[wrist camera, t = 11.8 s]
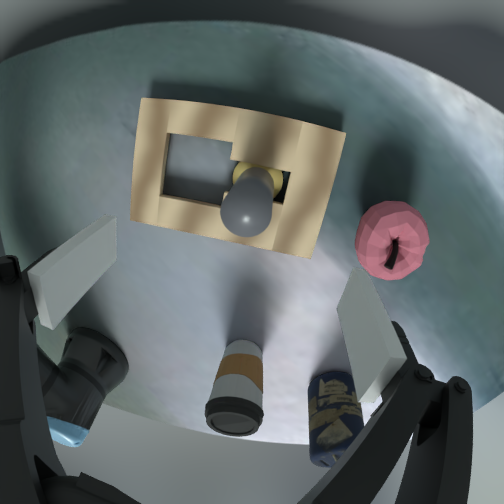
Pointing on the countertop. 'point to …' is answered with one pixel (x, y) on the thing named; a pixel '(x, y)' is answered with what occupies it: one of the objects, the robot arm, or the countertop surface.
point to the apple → (391, 240)
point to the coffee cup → (237, 391)
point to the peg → (250, 199)
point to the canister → (332, 417)
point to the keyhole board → (245, 150)
